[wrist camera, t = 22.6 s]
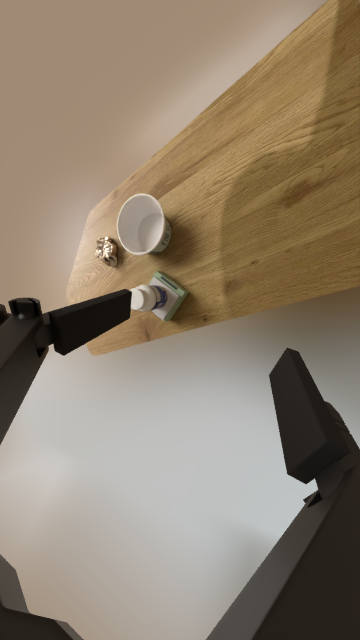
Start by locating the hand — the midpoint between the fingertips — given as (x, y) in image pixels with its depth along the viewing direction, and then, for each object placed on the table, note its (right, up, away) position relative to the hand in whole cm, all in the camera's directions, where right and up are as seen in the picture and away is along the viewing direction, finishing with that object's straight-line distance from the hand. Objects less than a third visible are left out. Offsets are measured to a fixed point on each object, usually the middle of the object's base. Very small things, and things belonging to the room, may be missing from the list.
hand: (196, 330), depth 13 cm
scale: (-5, +7, +29) cm, 30 cm away
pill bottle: (-6, +6, +26) cm, 27 cm away
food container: (-8, +22, +27) cm, 36 cm away
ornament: (-21, +20, +33) cm, 44 cm away
